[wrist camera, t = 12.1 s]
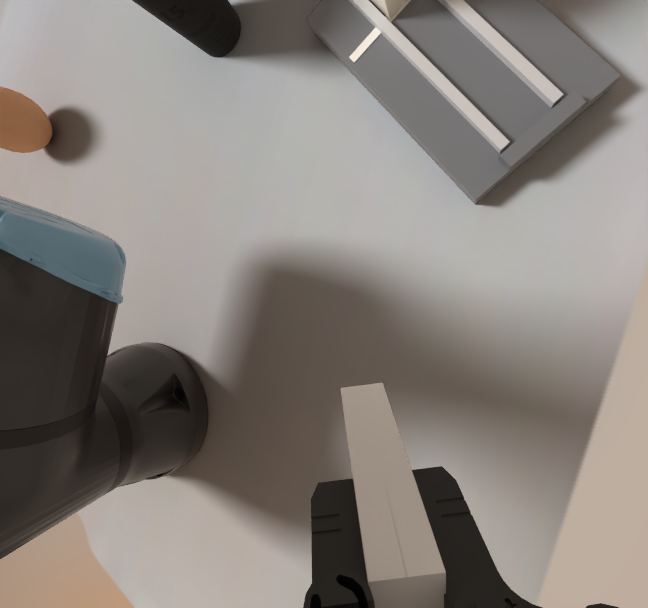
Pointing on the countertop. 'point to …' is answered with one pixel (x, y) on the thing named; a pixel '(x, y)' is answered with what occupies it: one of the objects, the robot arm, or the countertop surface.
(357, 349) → the countertop surface
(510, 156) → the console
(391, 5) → the fader
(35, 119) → the egg
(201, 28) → the drinking cup
